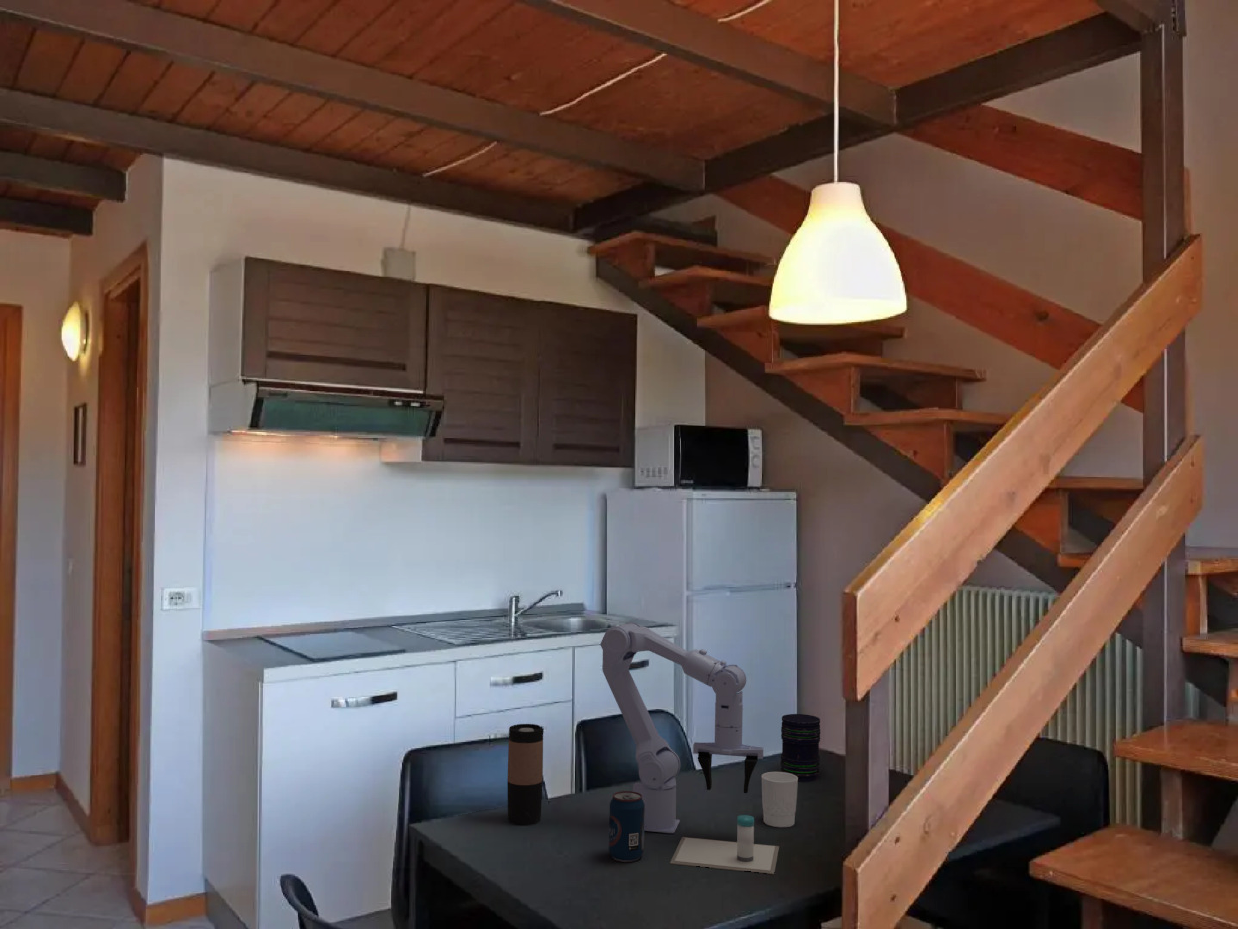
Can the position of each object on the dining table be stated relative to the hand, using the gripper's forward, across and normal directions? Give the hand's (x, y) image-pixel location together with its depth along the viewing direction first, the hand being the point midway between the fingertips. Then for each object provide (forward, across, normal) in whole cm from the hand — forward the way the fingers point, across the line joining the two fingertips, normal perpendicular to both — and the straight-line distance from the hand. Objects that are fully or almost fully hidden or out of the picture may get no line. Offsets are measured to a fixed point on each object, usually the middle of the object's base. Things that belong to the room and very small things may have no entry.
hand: (727, 790), depth 208 cm
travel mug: (+10, -44, -1) cm, 45 cm away
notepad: (+10, +1, -10) cm, 14 cm away
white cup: (+10, +10, +13) cm, 19 cm away
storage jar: (+10, +13, +50) cm, 53 cm away
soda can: (+10, -18, -16) cm, 26 cm away
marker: (+10, +5, -12) cm, 16 cm away
